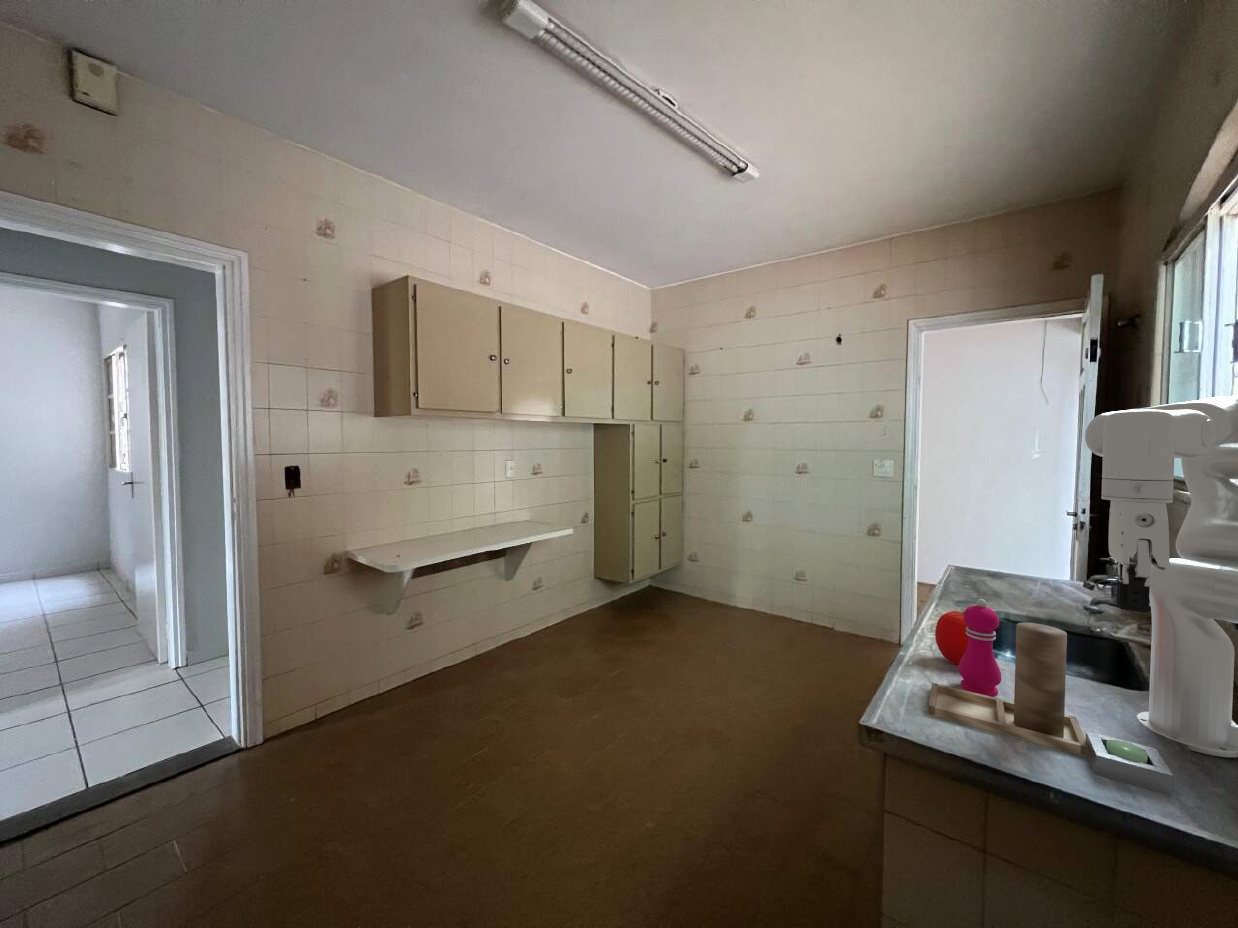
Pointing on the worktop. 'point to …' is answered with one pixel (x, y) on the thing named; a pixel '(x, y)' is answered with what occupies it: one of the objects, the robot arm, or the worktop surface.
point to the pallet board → (1000, 718)
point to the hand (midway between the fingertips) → (1132, 609)
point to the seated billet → (1040, 678)
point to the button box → (1130, 766)
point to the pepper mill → (980, 651)
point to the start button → (1126, 751)
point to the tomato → (952, 636)
